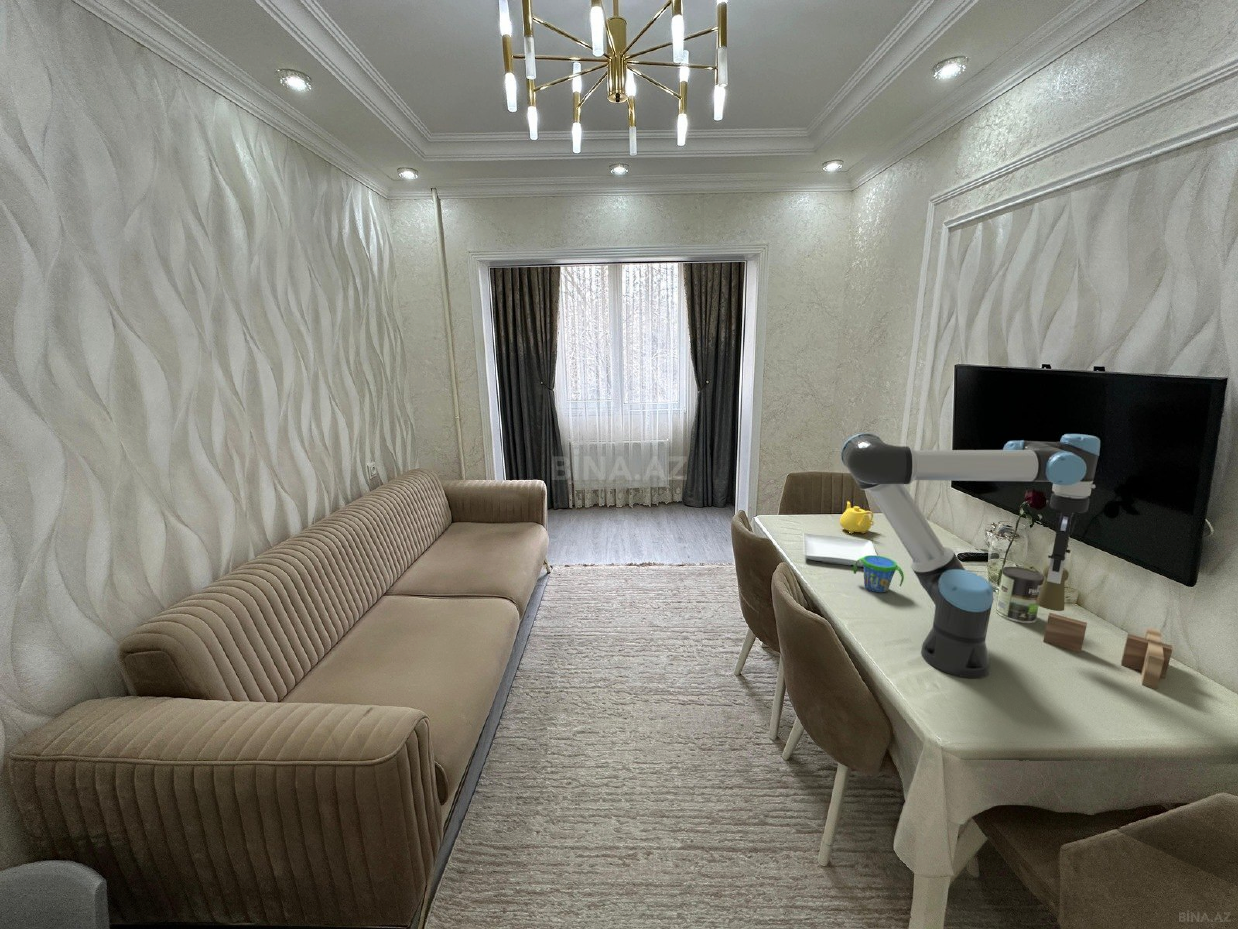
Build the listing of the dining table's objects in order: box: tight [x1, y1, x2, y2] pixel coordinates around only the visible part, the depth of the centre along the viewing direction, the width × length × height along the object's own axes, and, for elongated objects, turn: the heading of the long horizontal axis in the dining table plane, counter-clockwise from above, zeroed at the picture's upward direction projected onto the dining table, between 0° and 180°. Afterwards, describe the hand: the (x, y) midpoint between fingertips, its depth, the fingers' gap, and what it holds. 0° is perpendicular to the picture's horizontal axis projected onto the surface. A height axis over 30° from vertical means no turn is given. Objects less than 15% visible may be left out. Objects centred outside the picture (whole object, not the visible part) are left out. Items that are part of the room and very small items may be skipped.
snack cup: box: [852, 555, 905, 594], centre depth 177 cm, size 16×10×10 cm
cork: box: [1036, 565, 1070, 612], centre depth 138 cm, size 6×6×11 cm
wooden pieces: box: [1043, 612, 1173, 690], centre depth 138 cm, size 18×24×8 cm
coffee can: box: [995, 566, 1045, 624], centre depth 160 cm, size 10×10×14 cm
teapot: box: [839, 501, 875, 534], centre depth 235 cm, size 20×15×12 cm
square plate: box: [802, 532, 878, 568], centre depth 208 cm, size 27×27×4 cm
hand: (1054, 578), depth 138 cm, fingers closed on cork, 5 cm apart
